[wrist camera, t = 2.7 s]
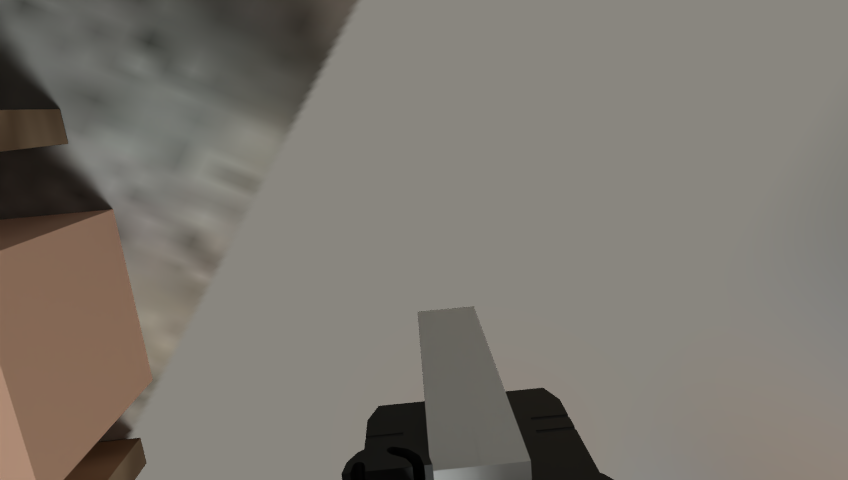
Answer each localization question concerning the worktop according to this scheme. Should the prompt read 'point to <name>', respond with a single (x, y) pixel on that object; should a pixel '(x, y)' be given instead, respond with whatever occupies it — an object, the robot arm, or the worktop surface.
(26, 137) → the low walled maze tray
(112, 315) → the block
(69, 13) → the worktop surface
